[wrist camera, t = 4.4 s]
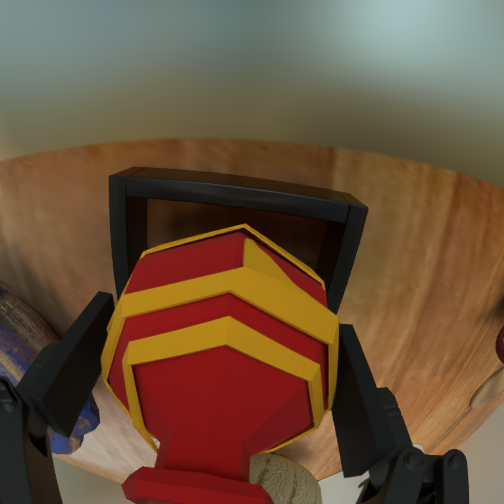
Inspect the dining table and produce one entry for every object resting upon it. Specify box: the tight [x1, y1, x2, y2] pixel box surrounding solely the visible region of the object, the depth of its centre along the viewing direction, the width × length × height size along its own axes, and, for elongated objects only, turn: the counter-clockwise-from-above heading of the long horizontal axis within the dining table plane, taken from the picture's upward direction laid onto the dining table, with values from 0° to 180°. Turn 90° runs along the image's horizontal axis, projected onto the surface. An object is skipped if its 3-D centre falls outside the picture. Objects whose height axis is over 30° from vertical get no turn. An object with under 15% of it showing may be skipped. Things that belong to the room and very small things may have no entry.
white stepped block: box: [318, 444, 425, 504], centre depth 29 cm, size 20×25×14 cm
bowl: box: [0, 287, 100, 455], centre depth 16 cm, size 18×18×10 cm
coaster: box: [470, 367, 504, 408], centre depth 25 cm, size 9×9×1 cm
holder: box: [109, 167, 368, 315], centre depth 16 cm, size 13×13×3 cm
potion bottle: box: [101, 224, 339, 504], centre depth 10 cm, size 10×10×15 cm
